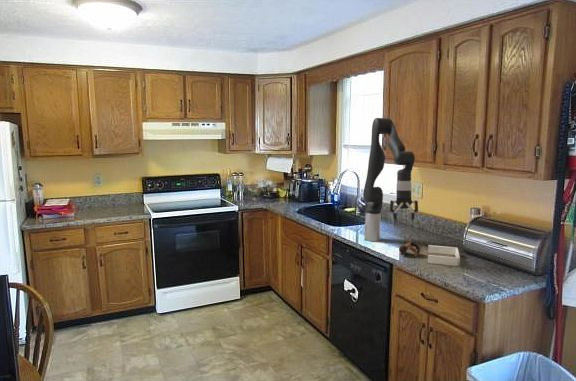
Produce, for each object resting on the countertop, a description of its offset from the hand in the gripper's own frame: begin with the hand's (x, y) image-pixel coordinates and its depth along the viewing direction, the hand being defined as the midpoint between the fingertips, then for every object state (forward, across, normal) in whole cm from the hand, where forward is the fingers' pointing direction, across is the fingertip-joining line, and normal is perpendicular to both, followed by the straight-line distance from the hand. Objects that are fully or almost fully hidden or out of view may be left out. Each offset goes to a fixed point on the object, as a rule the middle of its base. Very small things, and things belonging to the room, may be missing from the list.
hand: (403, 220), depth 212 cm
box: (+21, -20, -2) cm, 29 cm away
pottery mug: (+20, -4, -6) cm, 22 cm away
